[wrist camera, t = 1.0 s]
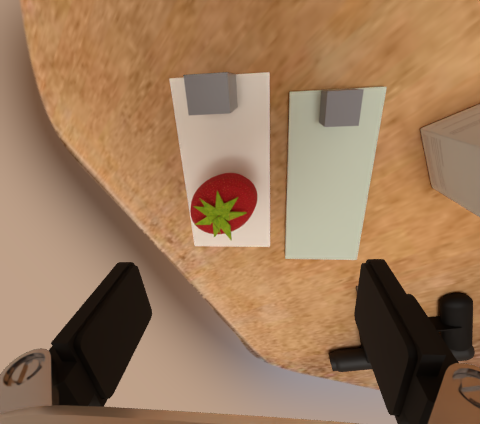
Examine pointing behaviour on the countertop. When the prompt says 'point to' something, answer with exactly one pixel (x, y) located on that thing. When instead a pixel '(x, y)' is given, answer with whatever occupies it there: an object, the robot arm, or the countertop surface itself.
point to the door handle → (449, 323)
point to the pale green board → (330, 169)
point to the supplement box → (455, 157)
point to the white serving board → (226, 143)
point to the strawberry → (223, 204)
